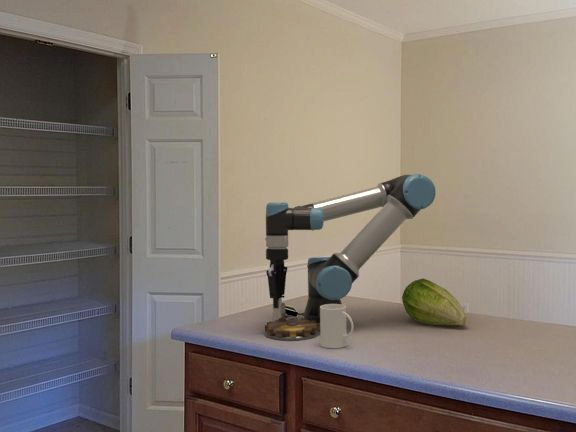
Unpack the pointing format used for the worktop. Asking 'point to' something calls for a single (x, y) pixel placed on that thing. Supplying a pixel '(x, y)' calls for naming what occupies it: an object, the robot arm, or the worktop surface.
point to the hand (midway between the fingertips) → (277, 317)
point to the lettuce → (432, 304)
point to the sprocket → (291, 326)
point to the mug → (334, 326)
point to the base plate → (288, 338)
